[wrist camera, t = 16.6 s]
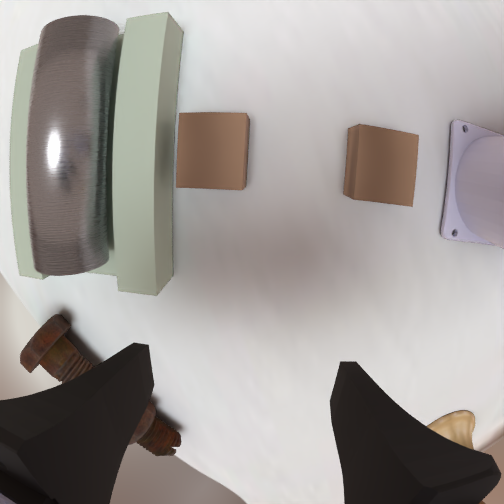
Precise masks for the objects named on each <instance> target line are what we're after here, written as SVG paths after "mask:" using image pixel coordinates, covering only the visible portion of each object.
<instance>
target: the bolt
mask: <svg viewBox="0 0 504 504" xmlns="http://www.w3.org/2000/svg"><path fill="white" fill-rule="evenodd" d="M70 327H71V325H70V324H69V323H68V322H67V321H66V320H65V318H64V317H63V316H62V315H59V314H55V315H54V316H53V317H51V318H50V319H49V320H48V321H47V322H46V323H45V324H44V325H43V326H42V327H41V328H40V329H39V330H38V331H37V332H36V333H35V335H34V336H33V337H32V338H31V339H30V341H29V342H28V343H27V345H26V346H25V348H24V349H23V350H22V352H21V355H20V363H21V364H22V365H23V366H24V367H25V369H26V370H28V372H29V373H31V372H32V371H33V370H34V369H35V368H36V367H37V366H38V365H39V364H40V365H41V366H42V367H43V368H44V369H45V370H46V371H47V372H48V373H49V374H50V375H51V376H53V377H54V378H56V379H58V381H59V382H60V381H62V384H63V383H66V382H68V381H70V380H72V379H74V378H76V377H78V376H80V375H82V374H83V373H85V372H87V371H89V370H91V369H92V368H94V367H95V366H93V367H92V363H90V364H89V361H86V358H83V355H80V352H79V351H78V350H77V348H76V347H75V346H74V345H73V344H72V343H71V342H70V341H69V340H68V339H67V338H66V337H65V336H64V334H65V333H66V332H67V330H68V329H69V328H70ZM155 414H156V410H155V407H154V405H153V403H151V402H150V401H149V403H148V406H147V408H146V410H145V412H144V414H143V416H142V418H141V420H140V422H139V424H138V426H137V428H136V430H135V432H134V434H133V436H132V438H131V440H130V442H129V444H133V443H135V442H137V443H138V444H140V445H141V446H143V447H144V448H146V450H149V451H150V452H152V453H153V454H155V455H156V456H165V455H169V456H173V455H174V454H175V453H176V449H173V448H172V447H180V445H181V435H180V434H179V433H178V432H177V431H176V430H174V428H171V426H168V424H166V423H165V422H162V420H160V419H159V418H157V417H156V416H155ZM129 444H128V445H129Z"/></svg>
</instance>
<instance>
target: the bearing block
mask: <svg viewBox="0 0 504 504" xmlns="http://www.w3.org/2000/svg"><path fill="white" fill-rule="evenodd" d="M249 127H250V119H249V117H248V115H247V113H216V112H201V113H179V127H178V147H177V173H176V188H205V189H228V190H243V189H244V188H245V187H246V180H247V162H248V144H249ZM418 140H419V135H416V134H411V133H406V132H401V131H396V130H391V129H386V128H380V127H375V126H369V125H363V124H358V125H356V126H353V127H351V128H348V143H347V158H346V171H345V182H344V193H343V194H344V195H346V196H348V197H350V198H352V199H354V200H363V201H372V202H380V203H388V204H396V205H403V206H411V207H412V206H413V198H414V189H415V180H416V169H417V156H418Z"/></svg>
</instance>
